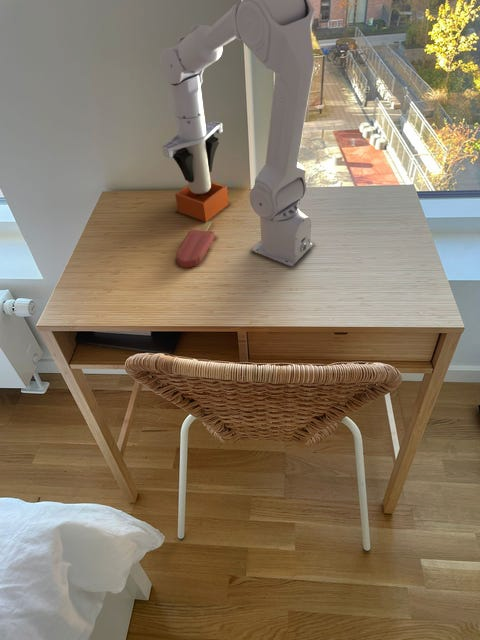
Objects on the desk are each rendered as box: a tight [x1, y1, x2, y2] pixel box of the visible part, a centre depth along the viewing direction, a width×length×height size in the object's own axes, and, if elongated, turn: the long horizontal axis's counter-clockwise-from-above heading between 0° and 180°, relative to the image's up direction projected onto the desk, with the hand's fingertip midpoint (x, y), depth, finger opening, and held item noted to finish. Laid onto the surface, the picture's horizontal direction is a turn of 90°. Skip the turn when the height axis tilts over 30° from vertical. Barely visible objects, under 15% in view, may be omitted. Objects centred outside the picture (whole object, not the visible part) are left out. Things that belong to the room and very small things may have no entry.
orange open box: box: [174, 180, 229, 223], centre depth 109 cm, size 8×8×5 cm
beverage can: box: [186, 141, 212, 194], centre depth 103 cm, size 5×5×12 cm
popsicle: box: [176, 220, 215, 268], centre depth 101 cm, size 5×2×15 cm
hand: (198, 175), depth 105 cm, fingers closed on beverage can, 5 cm apart
